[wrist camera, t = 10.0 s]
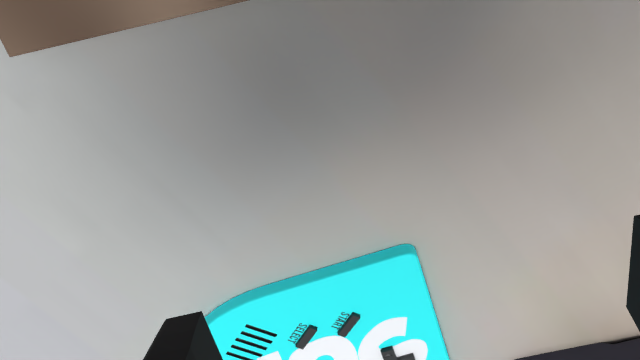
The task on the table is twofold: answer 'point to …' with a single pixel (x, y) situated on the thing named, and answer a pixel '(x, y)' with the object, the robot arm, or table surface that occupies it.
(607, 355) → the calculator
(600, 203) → the table surface
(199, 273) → the table surface
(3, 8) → the track board
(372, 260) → the handheld game console
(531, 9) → the table surface
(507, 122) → the table surface
